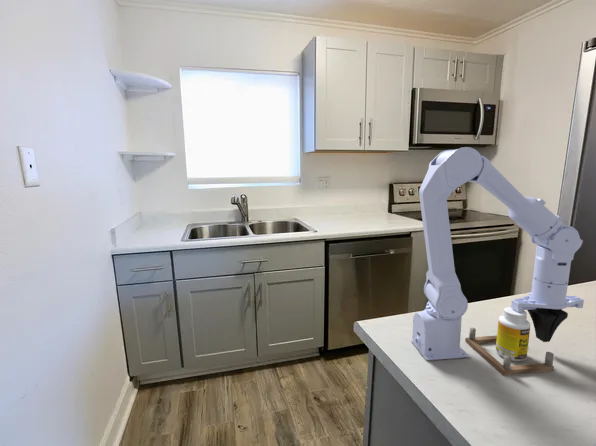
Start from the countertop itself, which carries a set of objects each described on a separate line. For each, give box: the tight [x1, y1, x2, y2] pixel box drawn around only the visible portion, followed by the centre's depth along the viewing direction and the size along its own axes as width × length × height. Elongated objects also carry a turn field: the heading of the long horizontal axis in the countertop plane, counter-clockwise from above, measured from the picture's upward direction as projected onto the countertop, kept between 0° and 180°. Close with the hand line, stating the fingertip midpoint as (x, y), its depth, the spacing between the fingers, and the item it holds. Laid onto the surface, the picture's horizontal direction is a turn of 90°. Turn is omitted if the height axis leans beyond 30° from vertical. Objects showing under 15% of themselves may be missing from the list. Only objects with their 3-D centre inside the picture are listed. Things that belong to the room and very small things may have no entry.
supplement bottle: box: [495, 306, 531, 362], centre depth 66 cm, size 6×6×10 cm
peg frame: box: [464, 327, 555, 376], centre depth 66 cm, size 11×12×4 cm
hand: (542, 339), depth 67 cm, fingers closed
